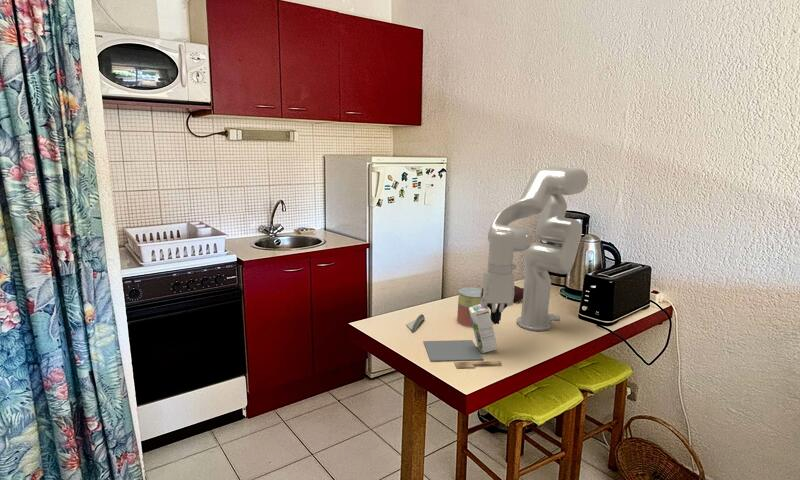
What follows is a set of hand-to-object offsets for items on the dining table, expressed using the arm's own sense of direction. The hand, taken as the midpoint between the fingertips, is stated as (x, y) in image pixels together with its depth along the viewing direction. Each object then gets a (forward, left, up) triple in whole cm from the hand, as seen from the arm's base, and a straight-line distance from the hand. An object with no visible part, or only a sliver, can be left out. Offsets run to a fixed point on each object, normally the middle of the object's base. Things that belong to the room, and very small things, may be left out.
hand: (495, 322), depth 148 cm
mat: (+14, 0, -10) cm, 17 cm away
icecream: (-25, -46, -10) cm, 53 cm away
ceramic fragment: (+22, -21, -11) cm, 33 cm away
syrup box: (+2, 0, -9) cm, 9 cm away
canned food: (+1, -24, -10) cm, 26 cm away
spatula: (+8, +10, -10) cm, 16 cm away
